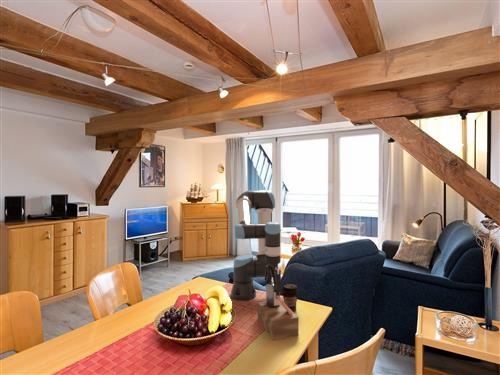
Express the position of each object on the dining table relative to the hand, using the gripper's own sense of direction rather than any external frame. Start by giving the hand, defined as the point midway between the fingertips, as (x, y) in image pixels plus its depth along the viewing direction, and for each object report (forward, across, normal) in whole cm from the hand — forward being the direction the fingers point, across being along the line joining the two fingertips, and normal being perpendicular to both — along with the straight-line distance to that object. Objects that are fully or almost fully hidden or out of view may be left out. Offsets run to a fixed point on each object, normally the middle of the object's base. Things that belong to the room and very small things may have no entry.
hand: (272, 300), depth 135 cm
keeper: (-2, +11, +1) cm, 11 cm away
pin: (+7, 0, 0) cm, 7 cm away
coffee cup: (+10, -8, +13) cm, 18 cm away
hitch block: (+10, +5, 0) cm, 11 cm away
